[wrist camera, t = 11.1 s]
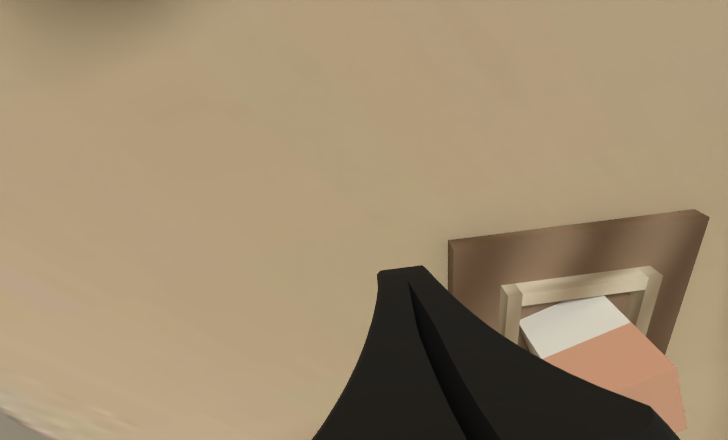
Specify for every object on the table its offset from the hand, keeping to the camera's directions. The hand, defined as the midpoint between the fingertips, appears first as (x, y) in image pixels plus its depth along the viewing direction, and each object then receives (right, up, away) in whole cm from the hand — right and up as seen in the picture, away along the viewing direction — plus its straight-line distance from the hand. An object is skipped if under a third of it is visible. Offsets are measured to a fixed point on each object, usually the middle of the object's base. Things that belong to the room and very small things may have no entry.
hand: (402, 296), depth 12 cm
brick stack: (+11, -5, +13) cm, 17 cm away
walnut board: (+11, -4, +14) cm, 18 cm away
